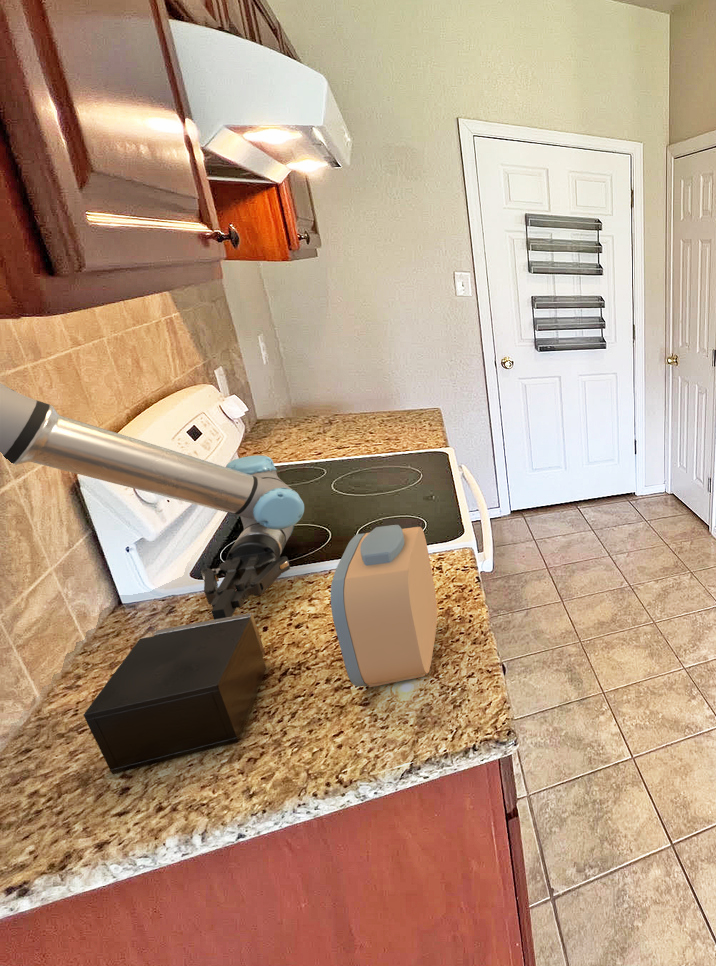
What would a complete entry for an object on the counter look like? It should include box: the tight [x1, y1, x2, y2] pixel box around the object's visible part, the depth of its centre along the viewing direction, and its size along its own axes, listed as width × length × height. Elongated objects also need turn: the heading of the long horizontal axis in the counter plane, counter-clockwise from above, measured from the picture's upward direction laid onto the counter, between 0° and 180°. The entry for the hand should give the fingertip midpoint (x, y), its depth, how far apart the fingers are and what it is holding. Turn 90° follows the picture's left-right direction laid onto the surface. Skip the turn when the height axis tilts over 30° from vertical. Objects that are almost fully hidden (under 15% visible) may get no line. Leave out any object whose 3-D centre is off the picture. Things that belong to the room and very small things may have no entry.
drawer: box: [153, 612, 266, 659], centre depth 83 cm, size 19×11×8 cm, turn 25°
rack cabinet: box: [83, 618, 267, 775], centre depth 78 cm, size 16×13×10 cm
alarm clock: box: [330, 524, 438, 688], centre depth 88 cm, size 21×10×22 cm, turn 20°
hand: (219, 617), depth 90 cm, fingers closed
